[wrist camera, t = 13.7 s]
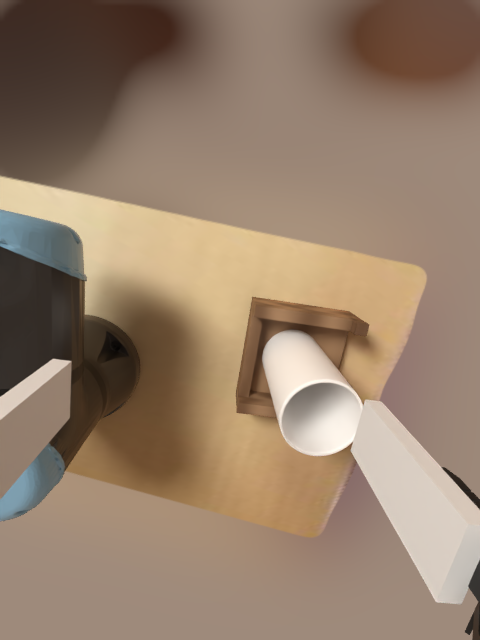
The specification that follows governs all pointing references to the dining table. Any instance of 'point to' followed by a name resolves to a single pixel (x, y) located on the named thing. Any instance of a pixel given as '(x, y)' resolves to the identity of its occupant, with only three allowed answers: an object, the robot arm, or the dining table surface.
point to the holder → (274, 319)
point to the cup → (310, 395)
